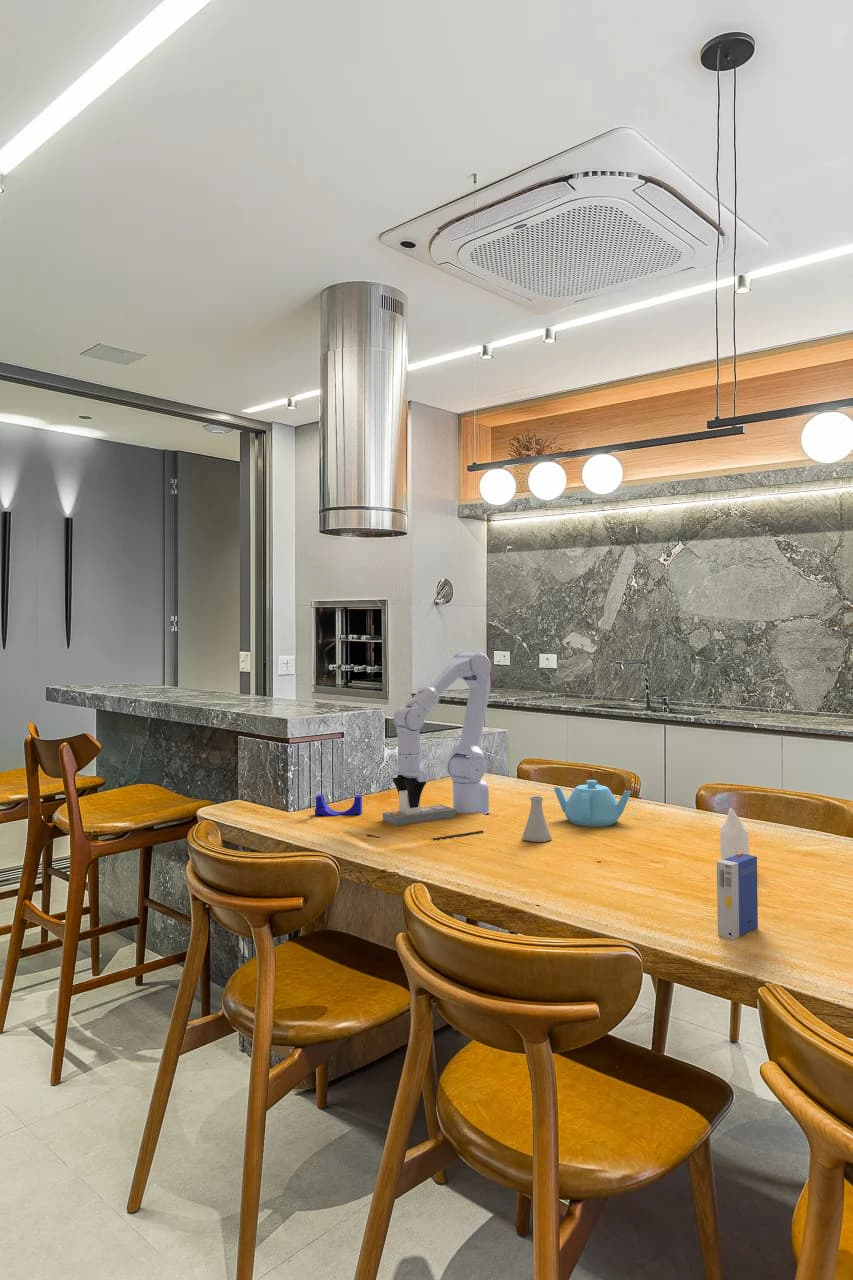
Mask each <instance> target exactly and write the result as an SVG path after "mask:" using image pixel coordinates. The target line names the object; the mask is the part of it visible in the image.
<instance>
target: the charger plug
mask: <svg viewBox="0 0 853 1280" xmlns="http://www.w3.org/2000/svg"><path fill="white" fill-rule="evenodd" d="M420 808H421V799H420V800H419V805H418V807H416V808H410V806H409V799H408V792H407V790H403V791H399V794H398V811H399V813H401V814H404V815H411V814H418V813H420Z"/></svg>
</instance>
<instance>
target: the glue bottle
mask: <svg viewBox="0 0 853 1280" xmlns="http://www.w3.org/2000/svg"><path fill="white" fill-rule="evenodd" d="M719 830H720V859H721V860H723V859H726V858H729V857H732V856H735V855H736V853H739V852H740V853H743V854H747V855H750V842H749V840H750V837H749V836H750V835H749V832H748V830H747V829H746V828H745V827H744V824H743V822H742V821H741V820H740V818H739V816H737V813H736V812H735V810H734V809H733V808H732V807H730V808H729V809H728V814H727V818H726V819H725V821H724V822H723V823H722V824H721V826H720V827H719Z"/></svg>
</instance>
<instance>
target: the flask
mask: <svg viewBox="0 0 853 1280" xmlns="http://www.w3.org/2000/svg"><path fill="white" fill-rule="evenodd" d="M529 799H530V810H529V815H528V818H527V821H526V824H525V827H524V831H523V834H522V840H523V841H528V842H532V843H533V842H535V843H536V842H537V843H545V842H549V841H552V840H553V839H552V834H551V832H550V828H549V826H548V824H547V821H546V818H545V815H544V810H543V800H544V797H543V796H540V795H533V796H529Z"/></svg>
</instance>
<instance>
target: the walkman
mask: <svg viewBox="0 0 853 1280" xmlns="http://www.w3.org/2000/svg"><path fill="white" fill-rule="evenodd" d="M716 889H717V890H716V891H717V893H716V896H717V897H716V898H717V899H716V900H717V901H716V902H717V903H716V904H717V936H721V937H724V938H725V939H729V940H735V939H737V938H739V937H742V936H744V935H746V934H747V933H750V932H752V931H754V930H756V929H759V920H758V918H759V917H758V916H759V915H758V914H759V912H758V910H759V909H758V905H759V904H758V902H759V901H758V898H759V897H758V856H756V855H750V854H749V855H747V854H743V853H740V852H739V853H736V855H735V856H732V857H729V858H726V859H723V860H717V861H716Z"/></svg>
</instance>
